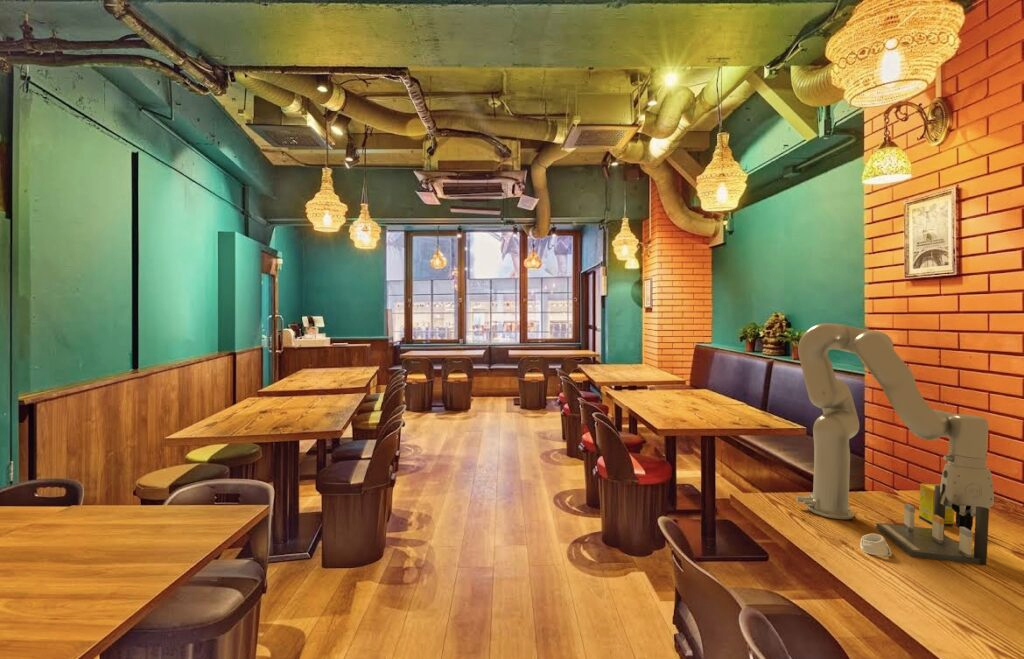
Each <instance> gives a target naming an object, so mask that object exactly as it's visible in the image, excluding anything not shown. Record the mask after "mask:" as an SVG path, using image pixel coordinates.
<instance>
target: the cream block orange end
mask: <svg viewBox="0 0 1024 659" xmlns="http://www.w3.org/2000/svg"><path fill="white" fill-rule="evenodd" d="M932 520H933V522H932V525H931V526H932V527H931V528H932V536H933V537H935V538H936V539H938V540H940V541H943V533H944V534H945V527H944V519H943V518H941V517H940V516H938V515H933V514H932Z"/></svg>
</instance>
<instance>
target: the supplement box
mask: <svg viewBox="0 0 1024 659" xmlns="http://www.w3.org/2000/svg"><path fill="white" fill-rule="evenodd" d="M935 485H941V483H940V484H939V483H938V484H937V483H936V484H935V483H920V485H919V507H918V509H919V510H918V513H919V514H918V518H919V520H920V519H921V520H922V521H924V522H926V523H928V524H930V525H931V526H932V522H933V520H932V514H933V515H934V500H935ZM954 515H955V511H954V510H953V509H952V508H951V507H947V506H945V527H954V522H955V521H954V517H955V516H954Z"/></svg>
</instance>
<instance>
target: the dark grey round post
mask: <svg viewBox="0 0 1024 659" xmlns="http://www.w3.org/2000/svg"><path fill="white" fill-rule="evenodd" d="M940 486H941V484H940V485H935V500H934V515H938V516H940V517H941V518H943V519H944V528H945V527H946V526H945V506H944V505H943V504H941V499H942V497H941V496H940ZM989 514H990V509H988V508H985V507H980V506H976V516H975V518H974V520H975V521H974V538H973V542H974V543H973V544H974V545H973V554H974V556H975V557H977V558H980V564H979V565H981V566H987V564H988V563H987V561H988V560H987V559H988V541H989V540H988V539H989V521H990V520H989V519H990V518H989V517H990V515H989ZM943 534H944V535H945V532H944V533H943Z"/></svg>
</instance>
